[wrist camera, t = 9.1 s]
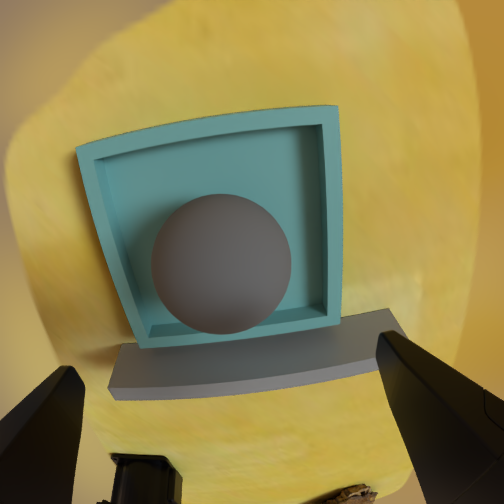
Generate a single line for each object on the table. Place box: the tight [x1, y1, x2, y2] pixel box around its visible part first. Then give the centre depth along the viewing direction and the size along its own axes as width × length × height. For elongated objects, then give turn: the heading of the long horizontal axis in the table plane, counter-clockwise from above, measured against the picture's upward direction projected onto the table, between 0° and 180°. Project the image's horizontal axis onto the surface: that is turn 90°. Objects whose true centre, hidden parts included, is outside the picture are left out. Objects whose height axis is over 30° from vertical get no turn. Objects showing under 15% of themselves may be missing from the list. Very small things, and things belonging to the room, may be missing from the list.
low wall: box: [108, 308, 408, 400], centre depth 19 cm, size 18×1×4 cm, turn 97°
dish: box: [76, 105, 343, 349], centre depth 16 cm, size 12×12×2 cm
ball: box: [151, 194, 291, 335], centre depth 14 cm, size 6×6×6 cm
